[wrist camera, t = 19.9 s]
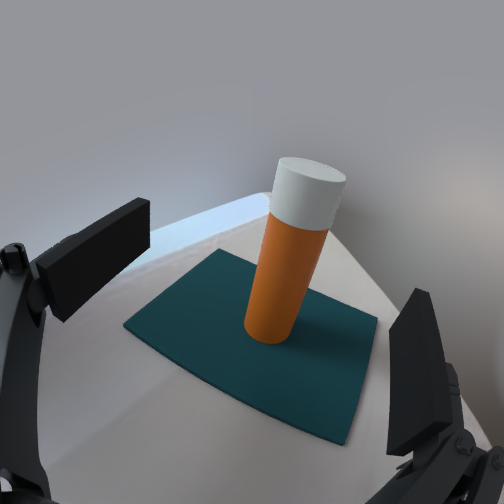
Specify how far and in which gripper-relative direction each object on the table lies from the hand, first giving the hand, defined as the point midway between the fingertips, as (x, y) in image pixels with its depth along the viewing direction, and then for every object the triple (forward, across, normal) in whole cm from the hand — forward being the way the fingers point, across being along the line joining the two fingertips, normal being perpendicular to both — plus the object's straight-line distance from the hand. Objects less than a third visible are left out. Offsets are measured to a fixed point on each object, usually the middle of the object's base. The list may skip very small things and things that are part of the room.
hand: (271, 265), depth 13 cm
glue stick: (+6, 0, -10) cm, 11 cm away
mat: (+6, 0, -10) cm, 12 cm away
